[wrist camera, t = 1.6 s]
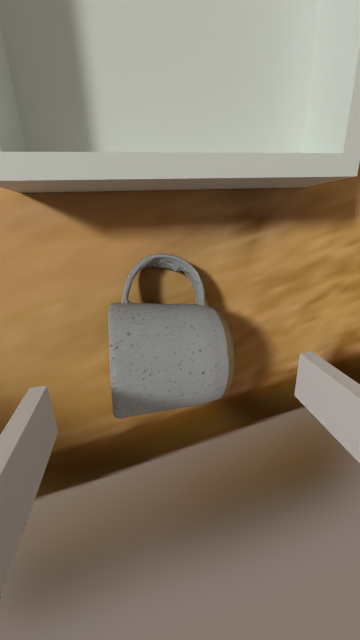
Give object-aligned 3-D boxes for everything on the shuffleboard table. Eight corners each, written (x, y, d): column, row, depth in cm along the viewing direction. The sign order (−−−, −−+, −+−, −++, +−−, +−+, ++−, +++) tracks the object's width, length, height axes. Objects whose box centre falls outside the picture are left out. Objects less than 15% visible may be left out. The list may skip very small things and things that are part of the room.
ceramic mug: (205, 369, 24) (238, 428, 17) (115, 378, 23) (110, 445, 16) (210, 252, 21) (255, 264, 14) (104, 253, 19) (92, 266, 12)
